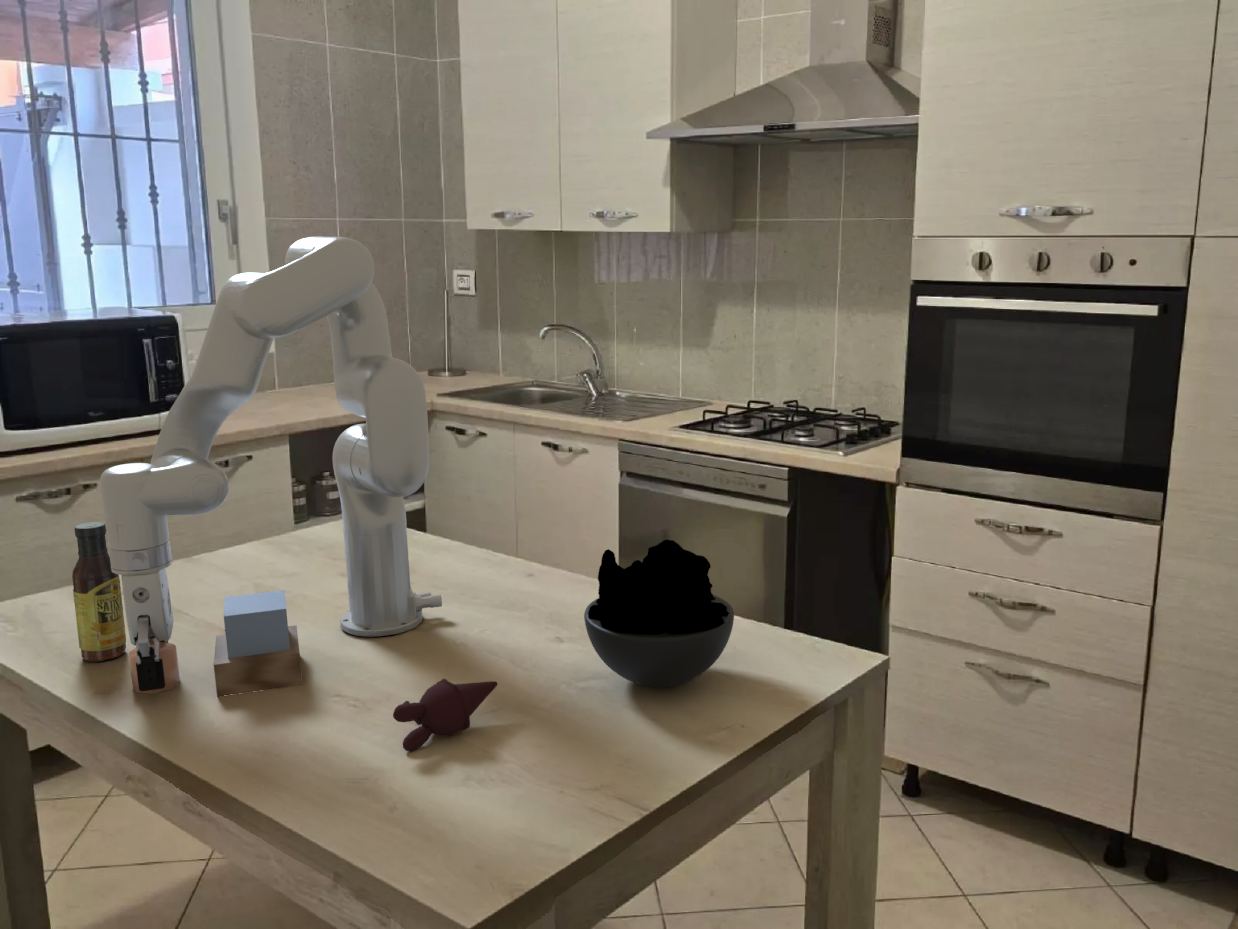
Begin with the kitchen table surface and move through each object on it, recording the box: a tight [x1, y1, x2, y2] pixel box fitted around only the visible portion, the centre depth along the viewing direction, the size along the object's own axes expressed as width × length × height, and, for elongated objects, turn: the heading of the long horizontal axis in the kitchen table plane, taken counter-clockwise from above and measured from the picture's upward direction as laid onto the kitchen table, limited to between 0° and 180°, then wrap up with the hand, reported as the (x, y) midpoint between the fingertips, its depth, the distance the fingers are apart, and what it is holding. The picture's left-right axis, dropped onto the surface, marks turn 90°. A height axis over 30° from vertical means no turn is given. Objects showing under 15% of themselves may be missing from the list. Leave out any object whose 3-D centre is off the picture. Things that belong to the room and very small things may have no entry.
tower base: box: [213, 625, 303, 698], centre depth 151 cm, size 11×11×5 cm
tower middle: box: [223, 589, 290, 658], centre depth 150 cm, size 8×8×6 cm
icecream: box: [392, 678, 499, 752], centre depth 133 cm, size 7×7×15 cm
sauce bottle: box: [71, 521, 127, 663], centre depth 157 cm, size 7×6×20 cm
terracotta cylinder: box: [128, 641, 181, 695], centre depth 148 cm, size 6×6×5 cm
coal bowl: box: [583, 539, 735, 688], centre depth 145 cm, size 20×20×19 cm
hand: (155, 674), depth 149 cm, fingers open, 9 cm apart
